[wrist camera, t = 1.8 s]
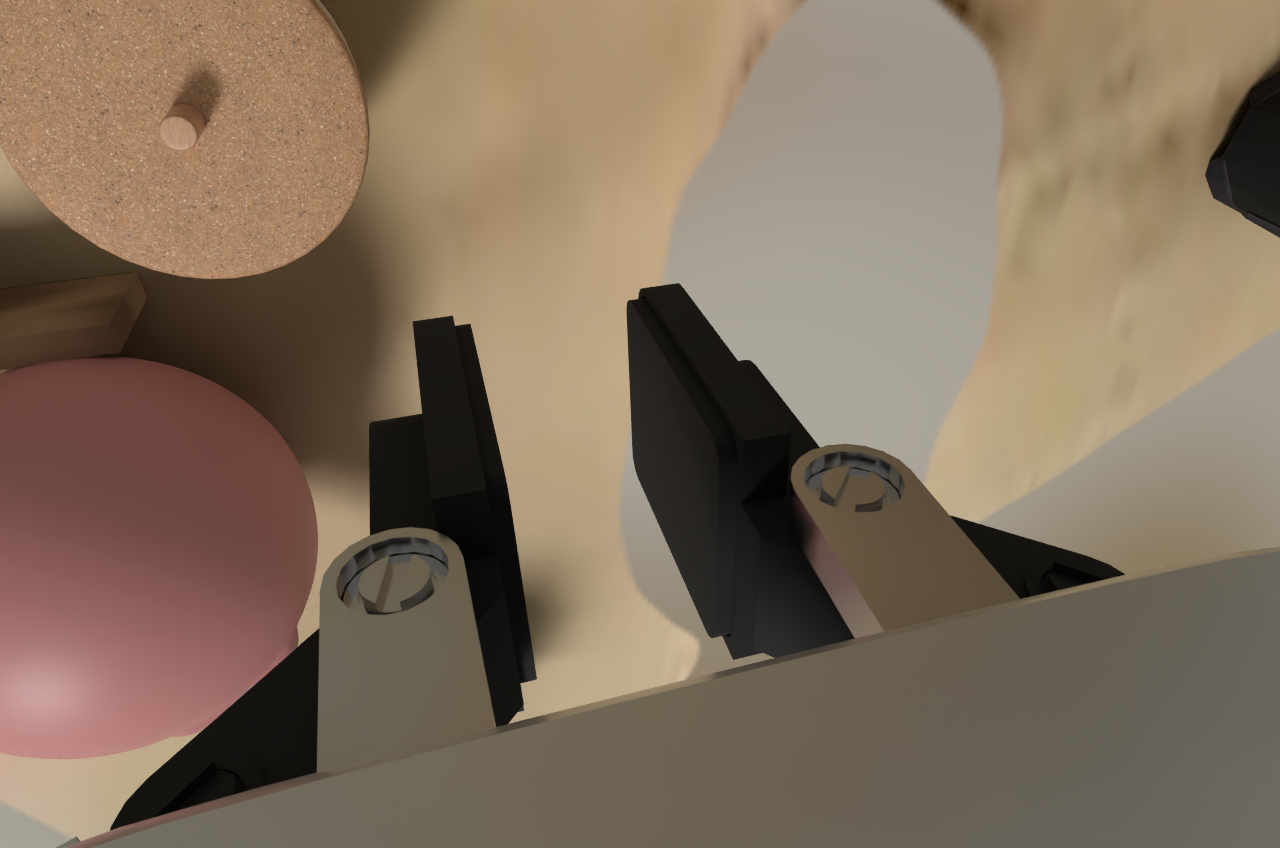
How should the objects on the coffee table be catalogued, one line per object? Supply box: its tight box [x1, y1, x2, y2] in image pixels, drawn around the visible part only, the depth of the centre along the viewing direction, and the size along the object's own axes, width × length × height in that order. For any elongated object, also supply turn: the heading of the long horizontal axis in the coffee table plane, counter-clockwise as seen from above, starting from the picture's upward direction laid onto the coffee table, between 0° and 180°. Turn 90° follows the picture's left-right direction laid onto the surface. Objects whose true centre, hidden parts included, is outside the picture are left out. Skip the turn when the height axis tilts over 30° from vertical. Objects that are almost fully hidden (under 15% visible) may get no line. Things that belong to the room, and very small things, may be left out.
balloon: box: [0, 356, 318, 759], centre depth 35 cm, size 15×20×15 cm
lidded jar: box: [0, 0, 370, 279], centre depth 28 cm, size 11×11×9 cm
